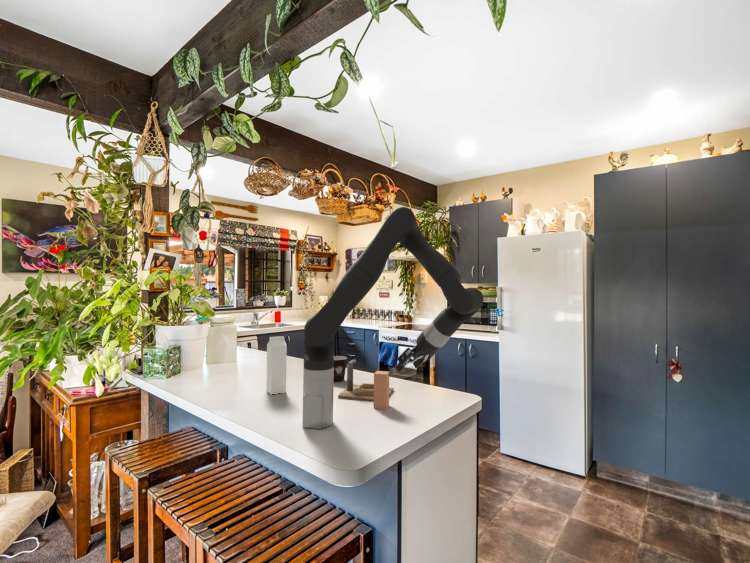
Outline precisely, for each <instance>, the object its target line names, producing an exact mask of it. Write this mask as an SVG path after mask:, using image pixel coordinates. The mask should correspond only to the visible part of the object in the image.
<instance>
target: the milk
mask: <svg viewBox="0 0 750 563" xmlns="http://www.w3.org/2000/svg"><path fill="white" fill-rule="evenodd" d="M287 348H288V345H287V343H286V340H285V336H284V335H281V336H269V341H268V342H267V344H266V382H265V383H266V384H265V386H266V388H265V390H266V391H267V392H266V393H268V392H269V393H270V394H269V393H268V394H269V395H270V396H273V395H272V394H276V395H279V394H278V393H282V394H286V393H287V357H288V356H287V353H288V350H287ZM285 392H286V393H285Z"/></svg>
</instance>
